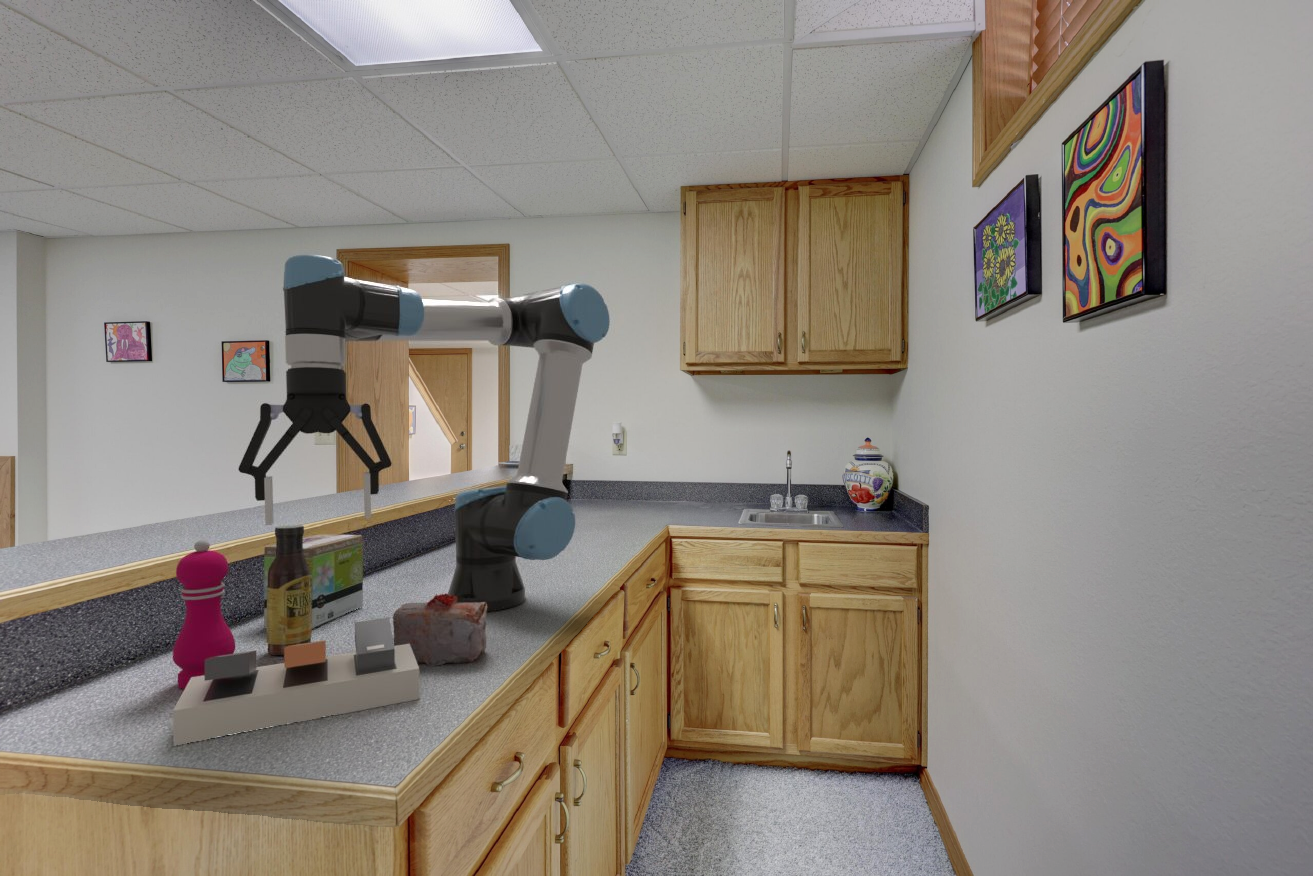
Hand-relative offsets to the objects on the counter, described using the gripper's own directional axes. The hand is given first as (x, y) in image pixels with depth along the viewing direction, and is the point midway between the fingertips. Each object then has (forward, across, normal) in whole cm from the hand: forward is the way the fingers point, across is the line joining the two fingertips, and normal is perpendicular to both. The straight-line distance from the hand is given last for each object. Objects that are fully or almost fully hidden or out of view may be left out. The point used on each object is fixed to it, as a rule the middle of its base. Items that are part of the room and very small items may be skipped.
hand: (320, 520), depth 92 cm
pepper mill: (+22, +15, -6) cm, 28 cm away
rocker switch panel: (+22, +2, +10) cm, 24 cm away
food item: (+23, -16, +1) cm, 28 cm away
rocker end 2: (+17, -6, +9) cm, 20 cm away
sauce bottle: (+22, +5, -15) cm, 27 cm away
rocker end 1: (+17, +10, +10) cm, 22 cm away
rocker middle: (+17, +2, +10) cm, 20 cm away
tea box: (+23, +2, -34) cm, 40 cm away
